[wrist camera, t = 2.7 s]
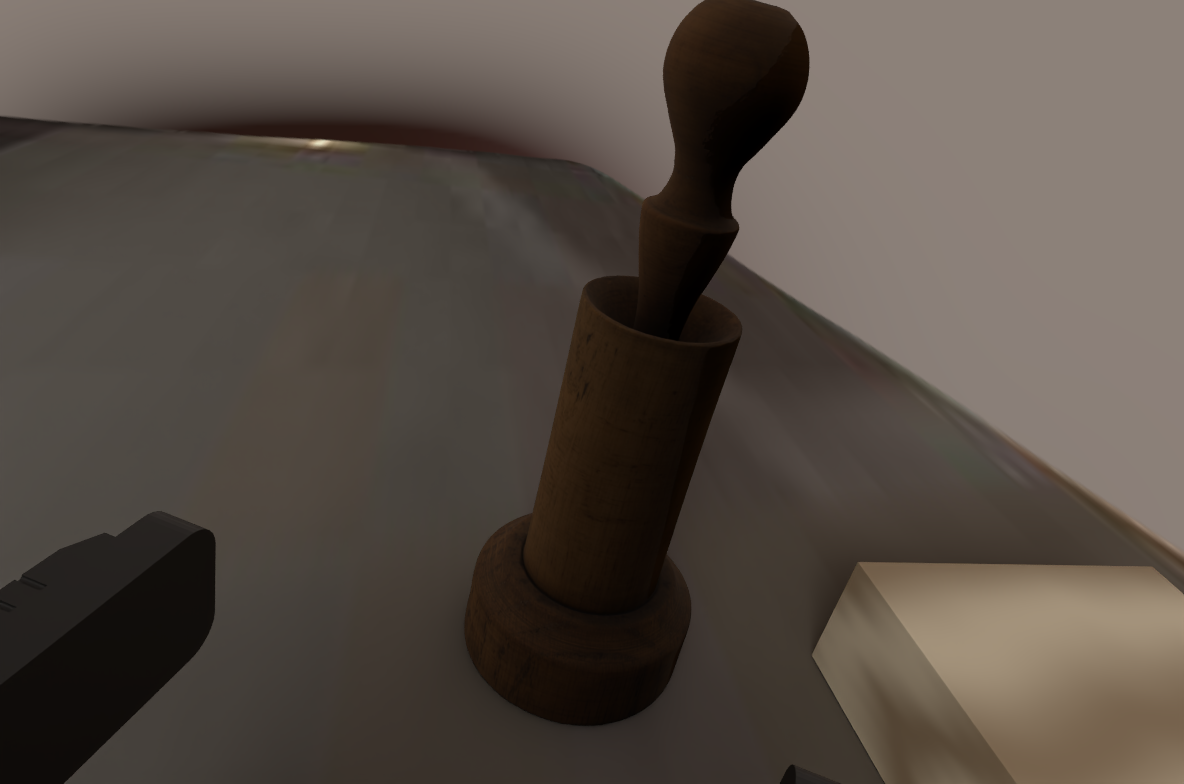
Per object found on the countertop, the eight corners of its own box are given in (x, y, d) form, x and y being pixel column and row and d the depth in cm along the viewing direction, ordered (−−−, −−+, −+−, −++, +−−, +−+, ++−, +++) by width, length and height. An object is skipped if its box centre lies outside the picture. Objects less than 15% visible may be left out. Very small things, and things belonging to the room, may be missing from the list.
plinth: (811, 655, 27) (857, 562, 25) (1093, 648, 31) (1152, 566, 29) (1072, 1111, 17) (1181, 1013, 15) (1442, 1019, 21) (1566, 932, 19)
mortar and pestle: (447, 564, 27) (562, -53, 18) (630, 558, 29) (808, 9, 21) (485, 741, 21) (673, -14, 13) (706, 716, 24) (989, 63, 15)
